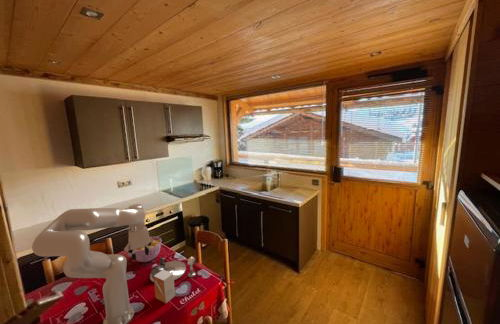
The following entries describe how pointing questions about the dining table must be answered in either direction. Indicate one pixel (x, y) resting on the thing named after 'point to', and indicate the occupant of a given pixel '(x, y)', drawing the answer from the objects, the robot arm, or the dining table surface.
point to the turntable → (172, 268)
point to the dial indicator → (191, 266)
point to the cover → (157, 270)
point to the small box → (164, 286)
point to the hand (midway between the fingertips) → (140, 256)
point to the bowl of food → (153, 251)
